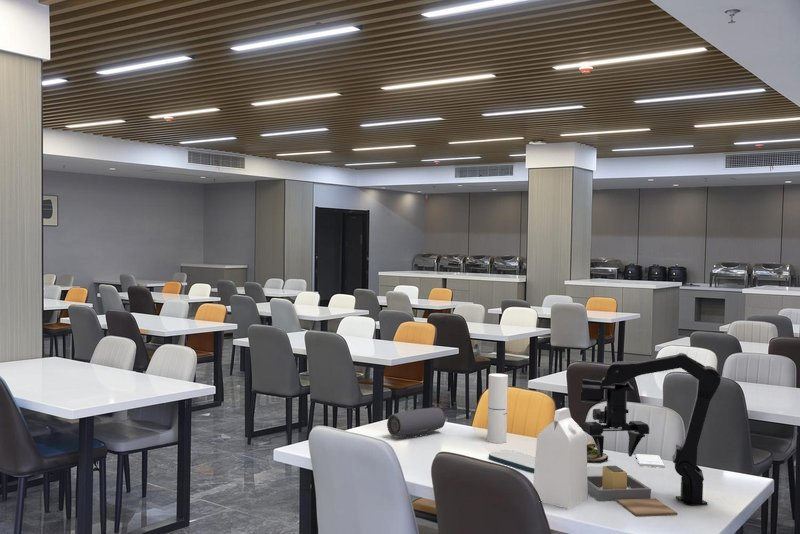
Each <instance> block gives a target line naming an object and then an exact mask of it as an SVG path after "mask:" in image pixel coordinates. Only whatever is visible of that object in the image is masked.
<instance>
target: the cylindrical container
mask: <svg viewBox="0 0 800 534" xmlns="http://www.w3.org/2000/svg"><path fill="white" fill-rule="evenodd" d="M508 384H509V375H508V374H505V373H489V374H488V388H487V389H488V392H487V393H488V396H487V397H488V401H487V406H488V407H487V434H486V436H487V437H486V438H487V442H488V443H492V444H506V443H507V432H508V431H507V429H508V425H507V424H508Z"/></svg>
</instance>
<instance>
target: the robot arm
mask: <svg viewBox="0 0 800 534" xmlns="http://www.w3.org/2000/svg"><path fill="white" fill-rule="evenodd" d="M677 369H682V370H683V371H685V372H686V373H688V374H689V375H691V376H692V377H693V378H695V379H697V380H696V394H695V396H696V397H695V400H694V402H693V408H692V410H691V414H690V418H689V422H688V426H687V430H686V432H685V437H684V440H683V441H682V444H681V445H679V444H677V443H676V444H675V451H674V454H673V455H672V457H671V458H672V463H673V464H674V470H675V472H676V473H677V474H678V475H679V476H680V477H681V478H680V495H676V496H675V499H677V500H678V501H680V502H681V503H683V504H685V506H699V505H708V502H707V501H705V500H704V496H703V495H704V483H703V482H704V480H705V478H704V474H703V470H702V468H700V467H699V465H697V464H698V446H699V443H700V439H701V436H702V431H703V429H704V425H705V421H706V417H707V413H708V410H709V406H710V403H711V401H712V399H713V397H714V395H715V394H716V392H717V390H718V389H719V386H720V384H721V378H722V377H721V375H720V373H719V372H718V370H717V369H716V368H715V367H713V366H711V365H704V364H702V363H701V362H698V361H697V360H695V359H693V358H692V357H690V356H688V354H686V353H684V352H679V353H678V354H674V355H668V356H662V357H661V356H660V357H656V358H651V359H650V358H649V359H646V360H641V361H640V360H639V361H632V360H631V361H630V360H623V361H619V360H618V361H614V362H611V363H610V364H609V366H608V367H607V371H606V375H604V377H602V379H601V380H593V379H587V378H583V379H582V385H581V386H582V387H581V390H580V402H581V403H594V404H601V402H603V401H605V398H606V405H604V408H603V409H604V410H603V411H602V410H601V408H594V409H592V419H593V420H595V421H585V422H584V423H583V424H582V430H583V431H584V433H585V434H587V435H589V436H591V437H592V440H593V442H594V443H595V445H596V446H595V448H596V449H597V451H598V453H599V456H600V457H602V455H603V453H604V440H605V439H604V438H605V436H604V435H603V434H604V432H625V431H626V432H627V434H628V435H627V436H628V449H627V450H628V451H627V453H628V457H629V458H630V457H631V458H632V456H633V455H634V452H635V450H636V449H637V447H638V444H639V443H640V442H641V440H642V439H643V438H645V437H646V435H650V428H651V427H650V426H649V425H648V423H645V422H643V421H641V420H630V421H629V422H628V423H627V414H629V409H628V408H627V405H628V403H627V402H628V399H627V397H628V392H633V391H634V386H633V385H631V383H630V382H629V380H632V379H634V378H636V377H639V376H642V375H648V374H653V373H654V374H655V373H659V372H665V371H671V370H677ZM624 382H625V383H624ZM612 384H614V385H612Z"/></svg>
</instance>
